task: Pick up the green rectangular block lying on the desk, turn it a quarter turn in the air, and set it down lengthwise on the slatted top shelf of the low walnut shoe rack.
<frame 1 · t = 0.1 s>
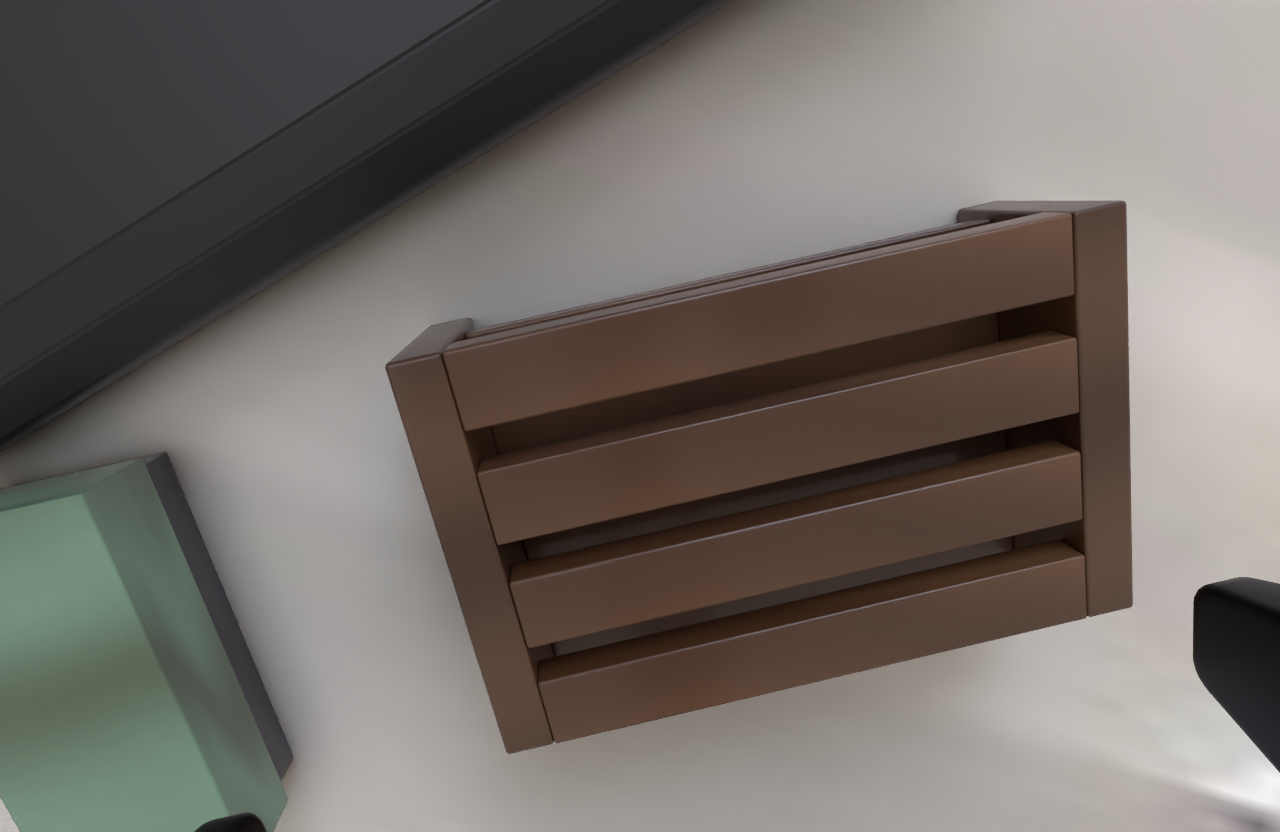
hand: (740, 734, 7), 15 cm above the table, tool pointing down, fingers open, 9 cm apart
rack: (745, 433, 22), on the table
green rectangular block: (160, 631, 22), on the table
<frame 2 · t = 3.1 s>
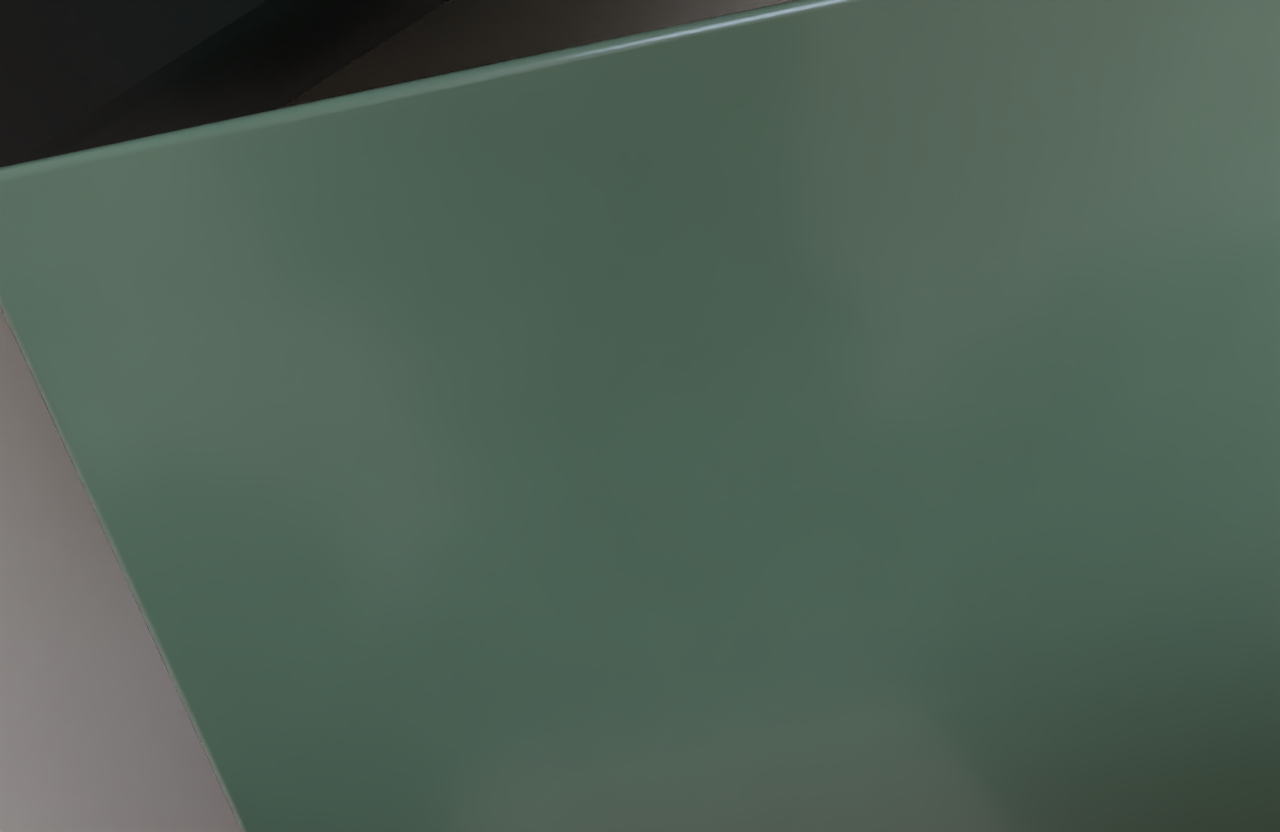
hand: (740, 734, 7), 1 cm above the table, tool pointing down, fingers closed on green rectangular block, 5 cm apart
green rectangular block: (717, 669, 8), on the table, touching gripper
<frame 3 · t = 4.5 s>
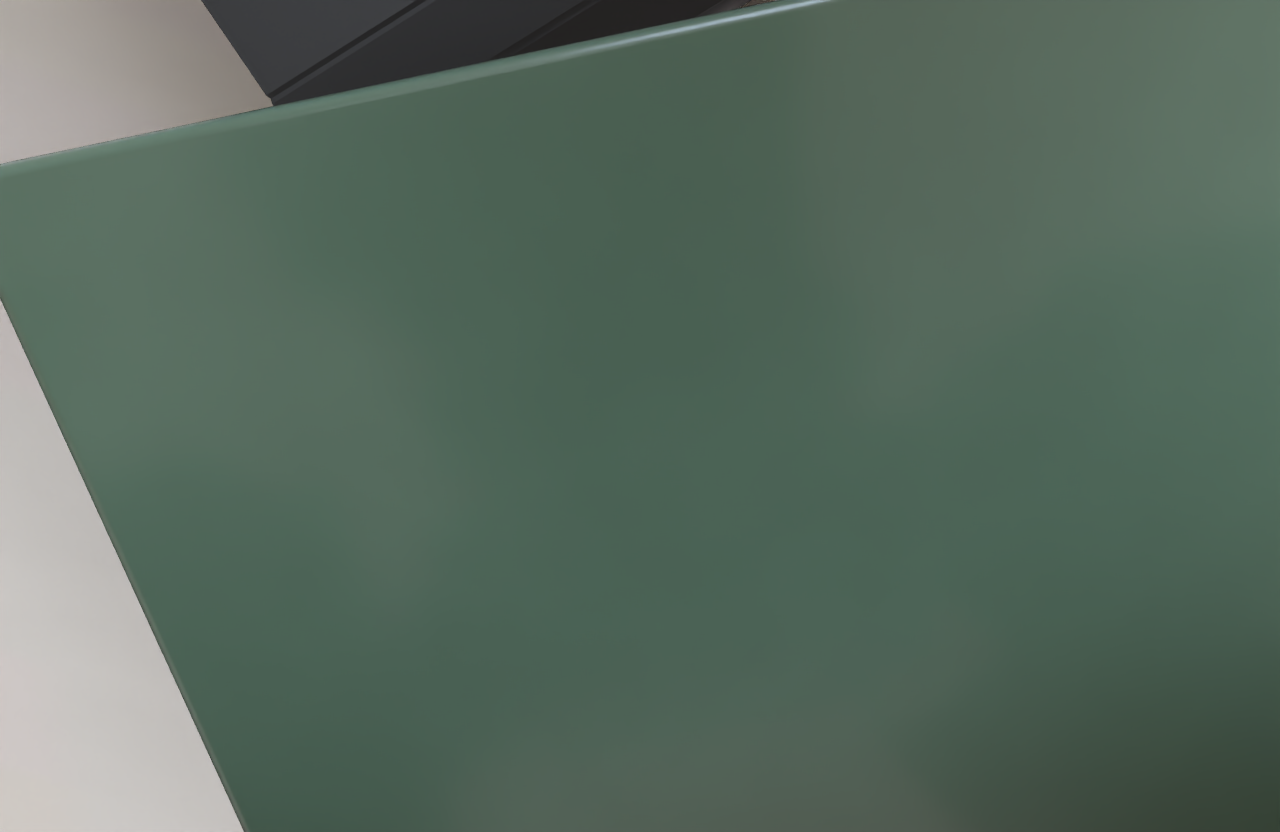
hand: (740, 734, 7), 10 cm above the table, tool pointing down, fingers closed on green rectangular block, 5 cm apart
green rectangular block: (716, 667, 8), point 9 cm above the table, touching gripper
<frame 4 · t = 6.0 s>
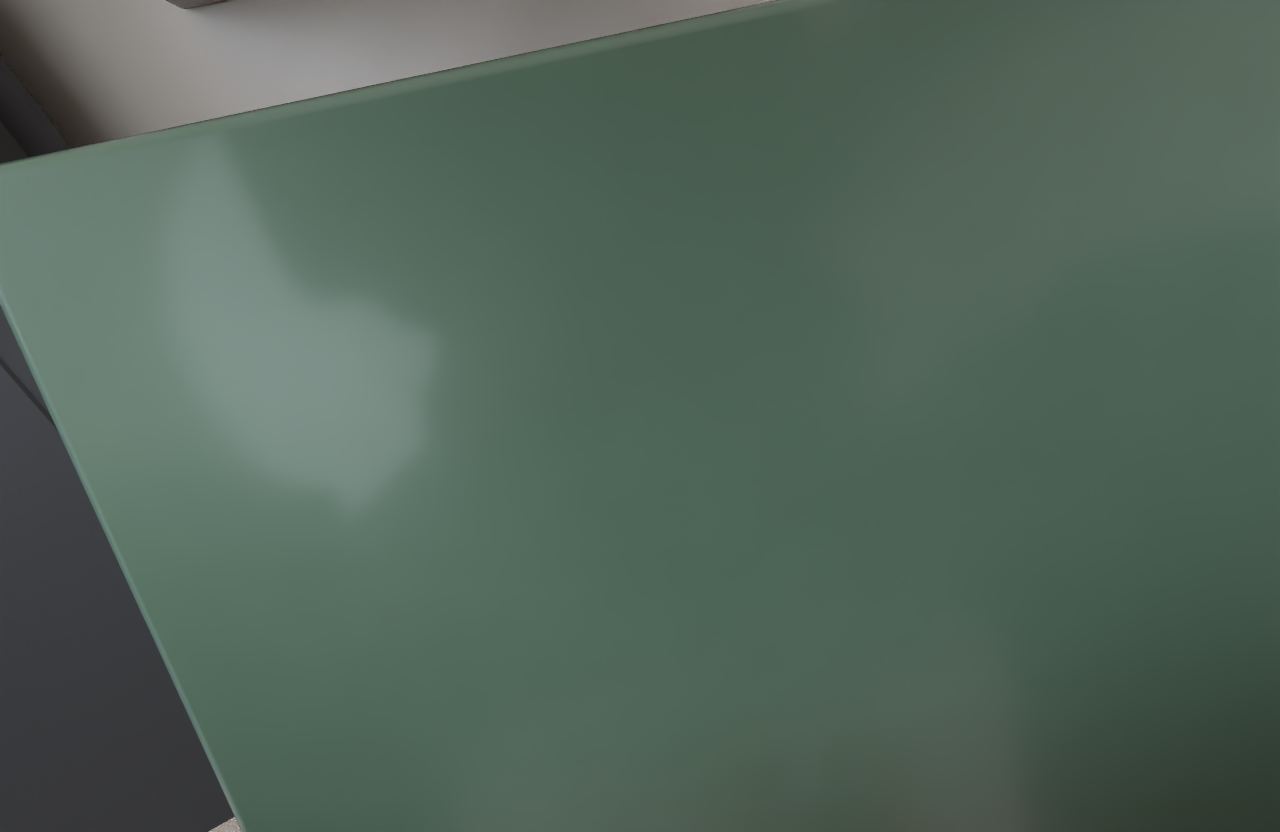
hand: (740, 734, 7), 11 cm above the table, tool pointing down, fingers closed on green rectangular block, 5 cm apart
green rectangular block: (717, 668, 8), point 10 cm above the table, touching gripper
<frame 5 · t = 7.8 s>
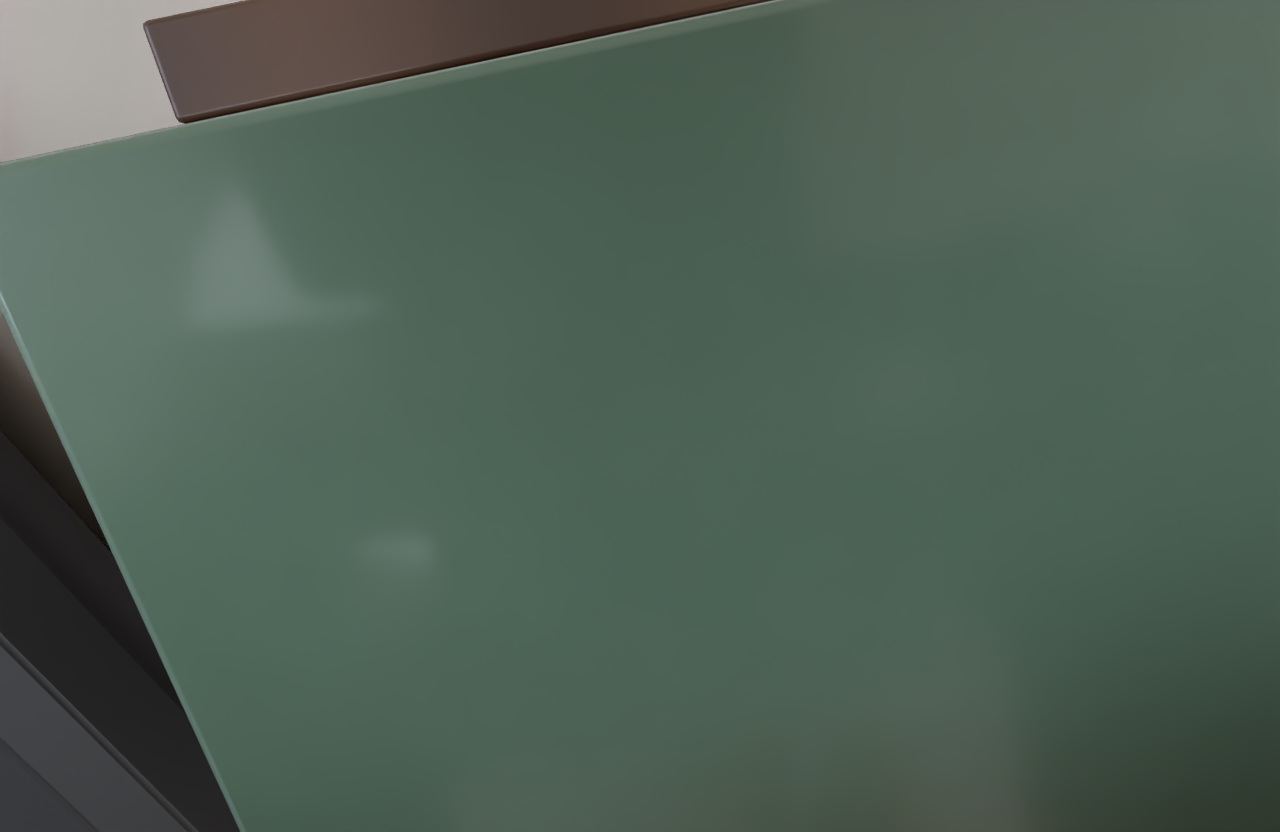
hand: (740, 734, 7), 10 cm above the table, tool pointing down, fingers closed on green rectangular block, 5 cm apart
rack: (639, 427, 16), on the table
green rectangular block: (717, 668, 8), point 9 cm above the table, touching gripper
when the fingers open (6 cm above the table, at t = 9.3 s): green rectangular block stays where it is, resting on rack.
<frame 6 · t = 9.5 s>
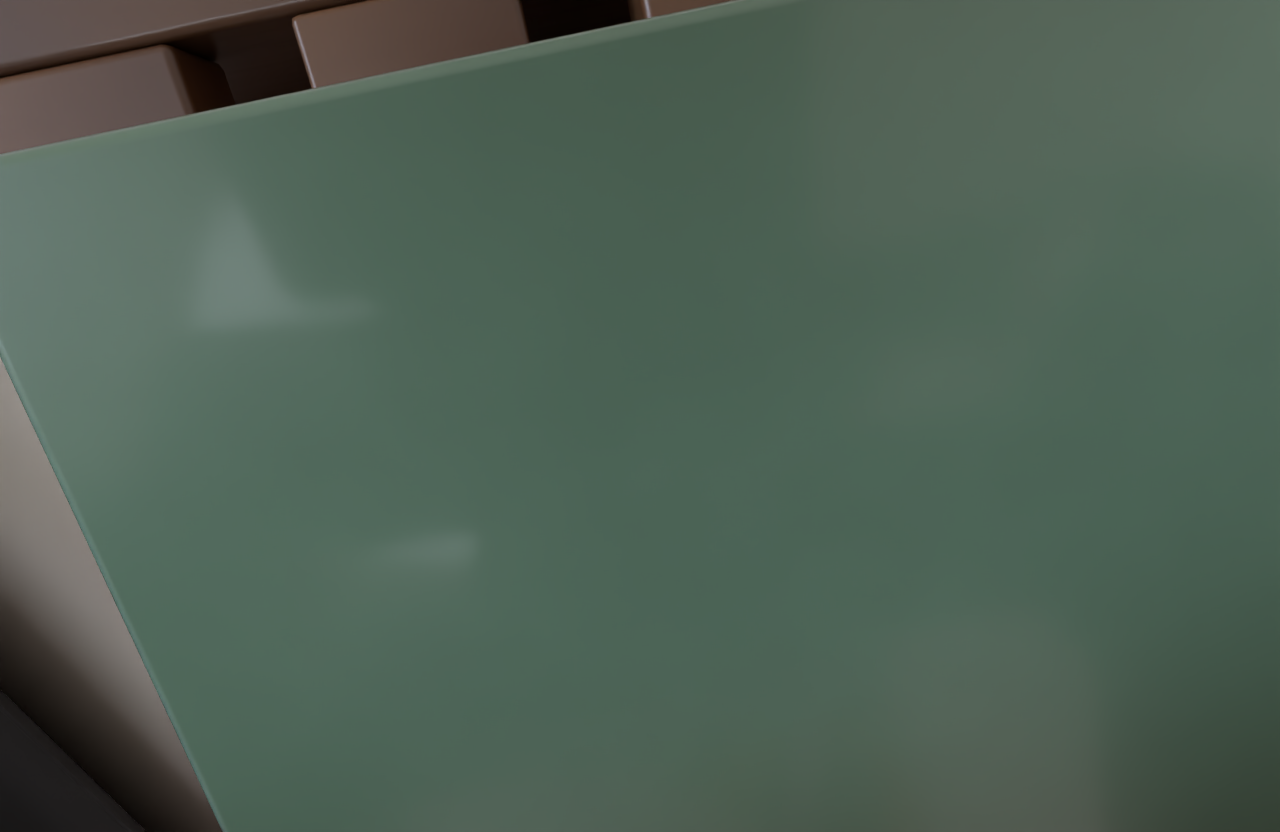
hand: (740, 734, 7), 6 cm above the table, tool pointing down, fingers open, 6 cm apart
rack: (664, 496, 13), on the table
green rectangular block: (724, 676, 8), point 5 cm above the table, touching rack
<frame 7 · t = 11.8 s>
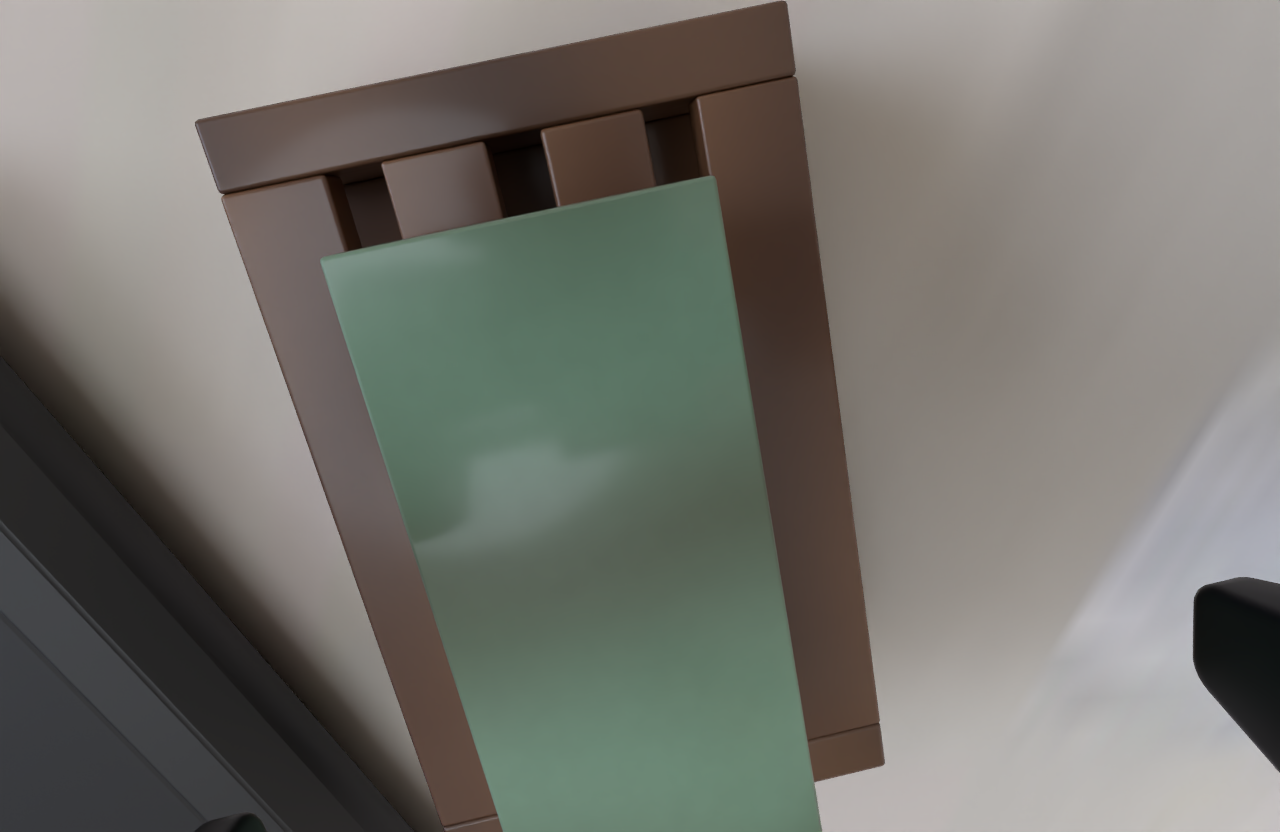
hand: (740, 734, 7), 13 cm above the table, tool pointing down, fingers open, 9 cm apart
rack: (590, 424, 19), on the table
green rectangular block: (599, 497, 15), point 5 cm above the table, touching rack
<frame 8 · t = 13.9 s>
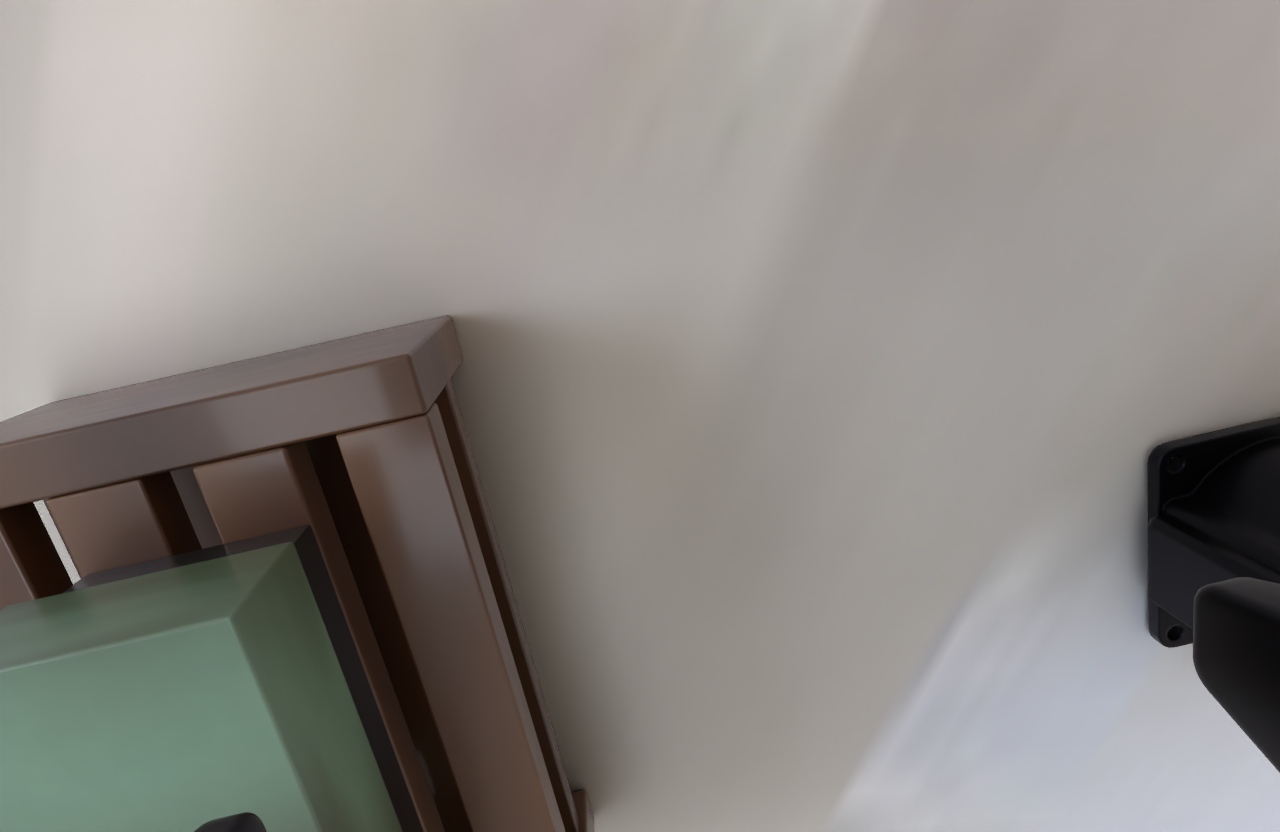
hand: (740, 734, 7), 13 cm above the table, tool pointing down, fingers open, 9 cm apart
rack: (353, 635, 21), on the table
green rectangular block: (289, 765, 16), point 5 cm above the table, touching rack
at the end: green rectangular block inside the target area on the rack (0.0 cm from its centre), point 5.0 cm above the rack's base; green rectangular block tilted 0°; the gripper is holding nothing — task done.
